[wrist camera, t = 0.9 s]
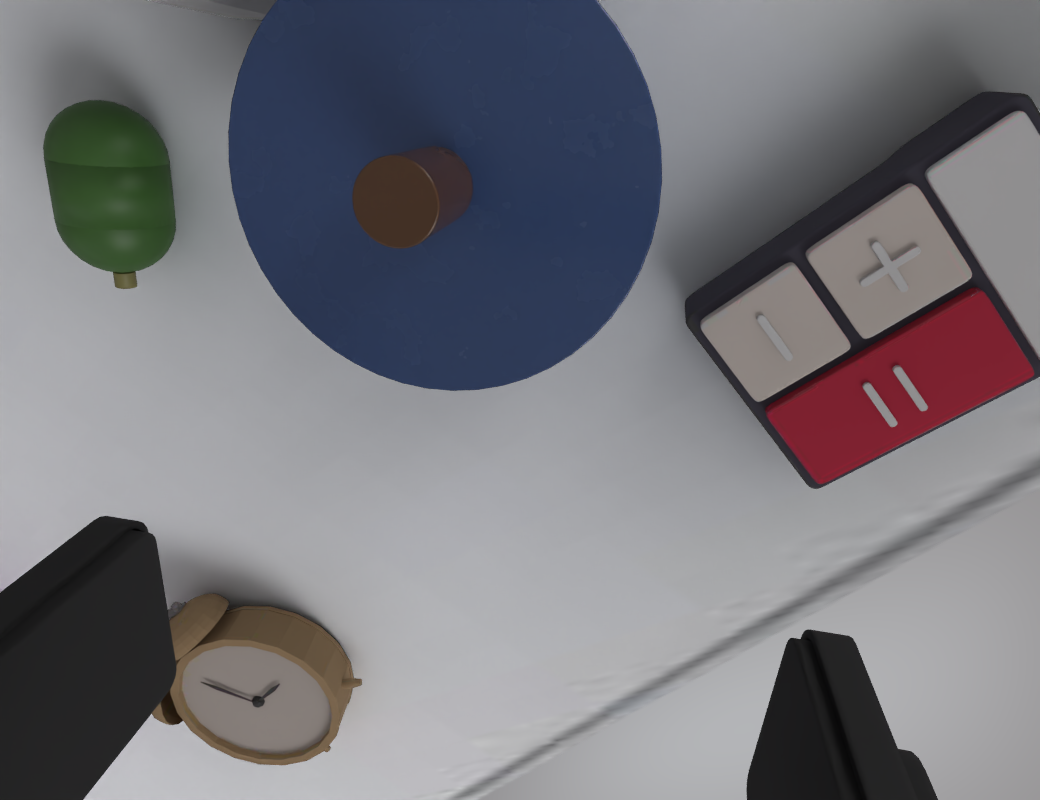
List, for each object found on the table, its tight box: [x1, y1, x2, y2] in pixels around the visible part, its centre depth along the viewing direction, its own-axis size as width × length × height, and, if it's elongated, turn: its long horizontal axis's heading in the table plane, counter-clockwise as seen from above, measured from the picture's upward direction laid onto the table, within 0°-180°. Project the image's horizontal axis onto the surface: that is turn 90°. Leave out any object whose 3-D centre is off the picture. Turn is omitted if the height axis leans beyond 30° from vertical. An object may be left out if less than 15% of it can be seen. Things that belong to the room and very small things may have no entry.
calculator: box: [685, 92, 1040, 489], centre depth 31 cm, size 11×4×15 cm
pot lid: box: [228, 0, 662, 391], centre depth 23 cm, size 15×15×6 cm
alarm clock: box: [152, 594, 362, 765], centre depth 47 cm, size 11×5×15 cm
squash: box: [43, 100, 176, 289], centre depth 34 cm, size 9×5×5 cm, turn 175°
